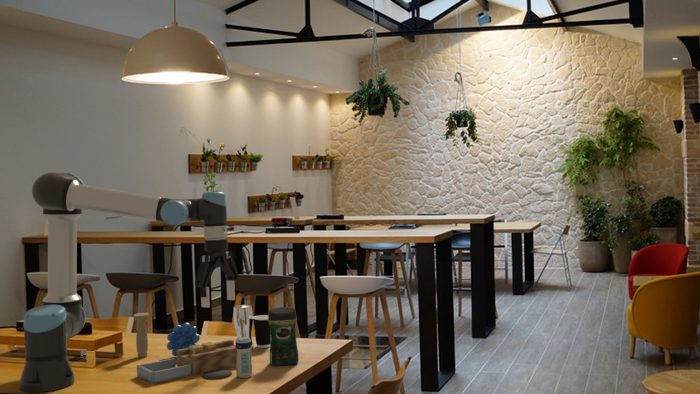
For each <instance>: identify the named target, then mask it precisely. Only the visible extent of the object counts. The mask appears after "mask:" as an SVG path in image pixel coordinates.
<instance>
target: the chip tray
mask: <svg viewBox="0 0 700 394" xmlns="http://www.w3.org/2000/svg"><path fill="white" fill-rule="evenodd" d="M176 364H177V361H176V358H174V357H173V358H168V359H162V360H158V361H154V362H148V363H143V364H138V365H136V372H137V373H136V375H137V377H138V378H140V379H141V380H143V381H145V382H147V383H149V384H151V385H157V384H162V383H165V382H170V381H174V380H179V379H184V378H188V377H191V376H192V374H191V366H190V365H184V366H179V367H177V366H176Z"/></svg>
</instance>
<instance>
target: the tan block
mask: <svg viewBox="0 0 700 394" xmlns="http://www.w3.org/2000/svg"><path fill="white" fill-rule="evenodd" d="M214 343H215V342H205V343H201V345H202V346H203V353H205V352H210V351H215V350H216V344H214Z"/></svg>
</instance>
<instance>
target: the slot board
mask: <svg viewBox="0 0 700 394" xmlns="http://www.w3.org/2000/svg"><path fill="white" fill-rule="evenodd" d="M213 343H214V344H216V350H215V351H210V352H205V353H200V354H195V355H189V348H184V349H179V350H177V356H176V364H177V366H176V367H179V366H184V365H190V366H191V376H197V375H203V373H204V372H207V371H210V370H217V369H225V370H227V369H231V368H236V346H235V340H233V339H227V340H223V341H222V340H221V341H218V342H217V341H216V342H213ZM199 345H200V344H199ZM200 346H202V344H201V345H200Z"/></svg>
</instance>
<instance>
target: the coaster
mask: <svg viewBox="0 0 700 394" xmlns="http://www.w3.org/2000/svg"><path fill="white" fill-rule="evenodd" d="M232 375H233V373H232V370H230V369H217V370H210V371H207V372H204V373H203V374H202V378H203V379H206V380H223V379H226V378H230V377H231V376H232Z"/></svg>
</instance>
